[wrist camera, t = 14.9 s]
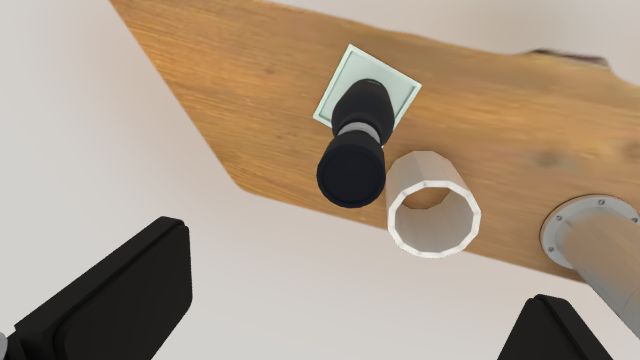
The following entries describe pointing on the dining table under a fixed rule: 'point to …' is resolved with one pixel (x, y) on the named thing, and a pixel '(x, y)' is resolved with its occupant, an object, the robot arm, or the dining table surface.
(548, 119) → the dining table surface
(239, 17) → the dining table surface
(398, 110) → the sage tray
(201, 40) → the dining table surface
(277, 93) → the dining table surface
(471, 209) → the wine cooler
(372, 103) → the wine bottle
